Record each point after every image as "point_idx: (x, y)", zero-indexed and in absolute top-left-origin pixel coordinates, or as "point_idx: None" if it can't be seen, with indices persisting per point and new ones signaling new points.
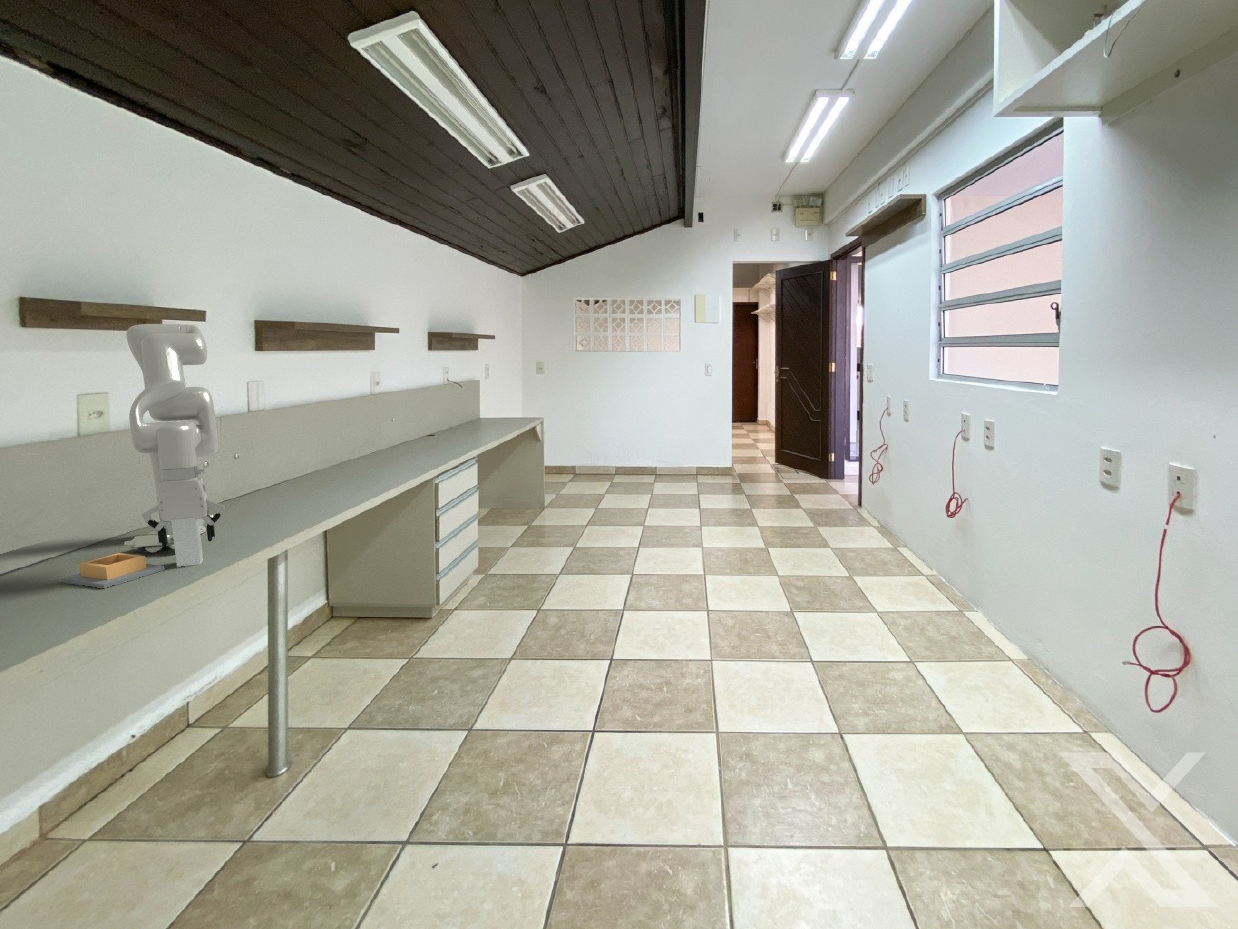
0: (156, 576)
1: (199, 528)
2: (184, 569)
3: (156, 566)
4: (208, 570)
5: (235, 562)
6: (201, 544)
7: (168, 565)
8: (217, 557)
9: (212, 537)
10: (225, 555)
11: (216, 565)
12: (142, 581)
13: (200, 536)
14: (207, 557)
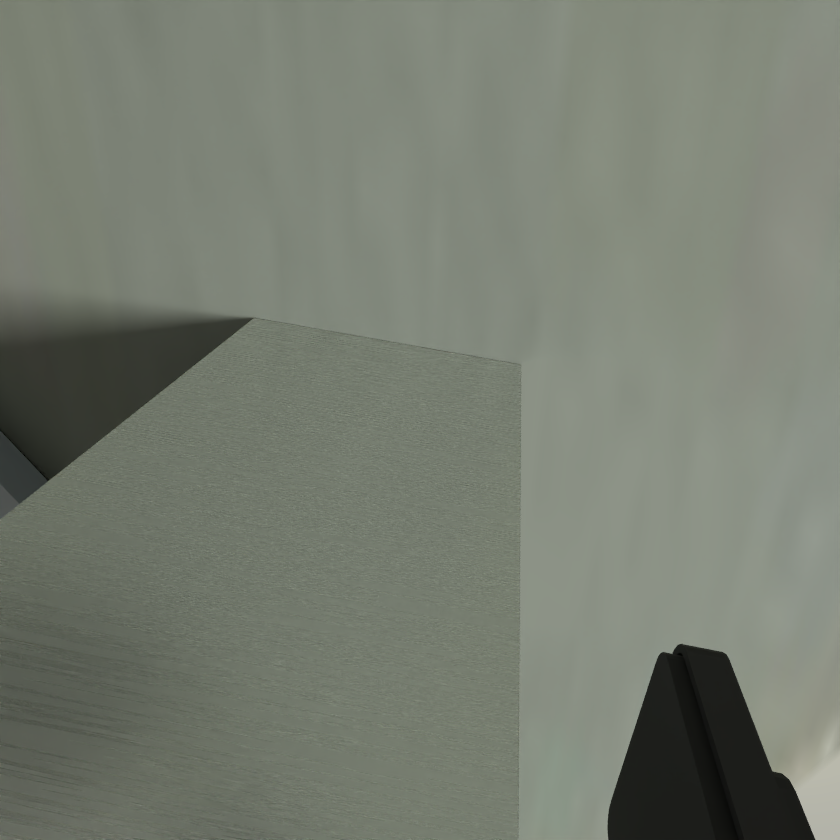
0: None
1: (514, 682)
2: None
3: None
4: (523, 832)
5: (815, 742)
6: (520, 452)
7: (139, 394)
8: (696, 390)
9: (724, 662)
10: (813, 349)
11: (617, 725)
12: None
13: (518, 547)
14: (581, 300)
